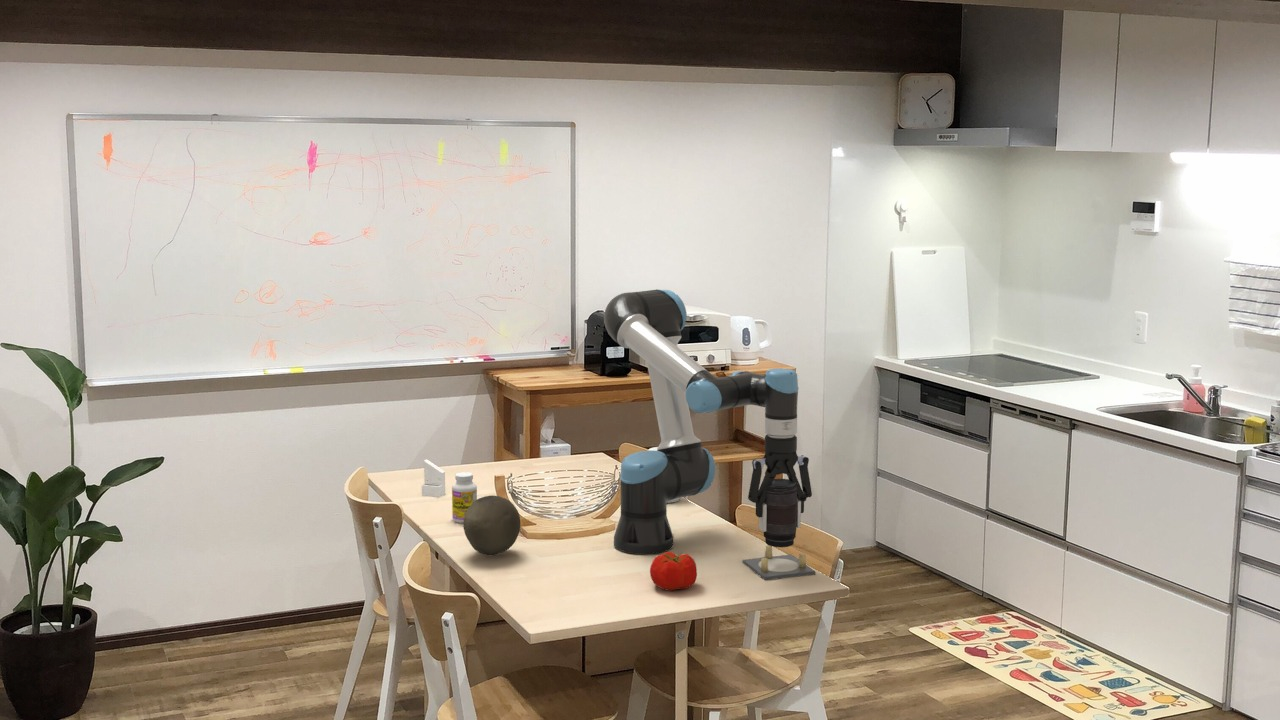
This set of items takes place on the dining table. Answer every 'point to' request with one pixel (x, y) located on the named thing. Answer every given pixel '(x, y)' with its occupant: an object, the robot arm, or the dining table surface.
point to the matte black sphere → (491, 525)
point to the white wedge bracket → (433, 480)
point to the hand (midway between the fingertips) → (779, 528)
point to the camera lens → (781, 513)
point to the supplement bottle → (462, 495)
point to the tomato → (673, 571)
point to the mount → (779, 565)
